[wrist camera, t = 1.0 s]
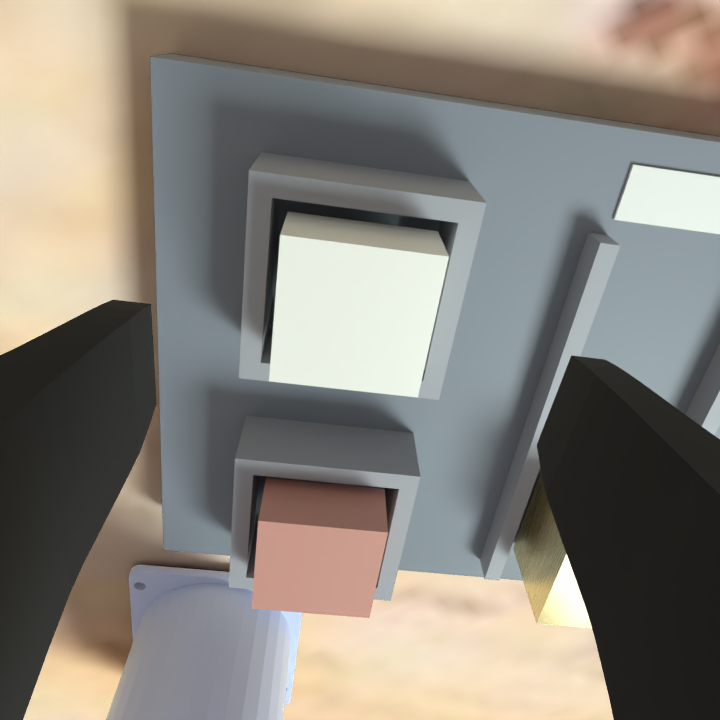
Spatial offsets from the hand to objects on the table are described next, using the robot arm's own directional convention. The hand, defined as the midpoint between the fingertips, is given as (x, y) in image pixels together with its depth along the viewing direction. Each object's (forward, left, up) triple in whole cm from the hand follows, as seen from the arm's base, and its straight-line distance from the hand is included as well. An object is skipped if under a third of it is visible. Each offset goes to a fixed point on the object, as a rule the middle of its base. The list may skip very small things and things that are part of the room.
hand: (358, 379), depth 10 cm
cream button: (-1, 0, -7) cm, 7 cm away
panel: (-5, -5, -11) cm, 13 cm away
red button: (-10, 0, -7) cm, 12 cm away
